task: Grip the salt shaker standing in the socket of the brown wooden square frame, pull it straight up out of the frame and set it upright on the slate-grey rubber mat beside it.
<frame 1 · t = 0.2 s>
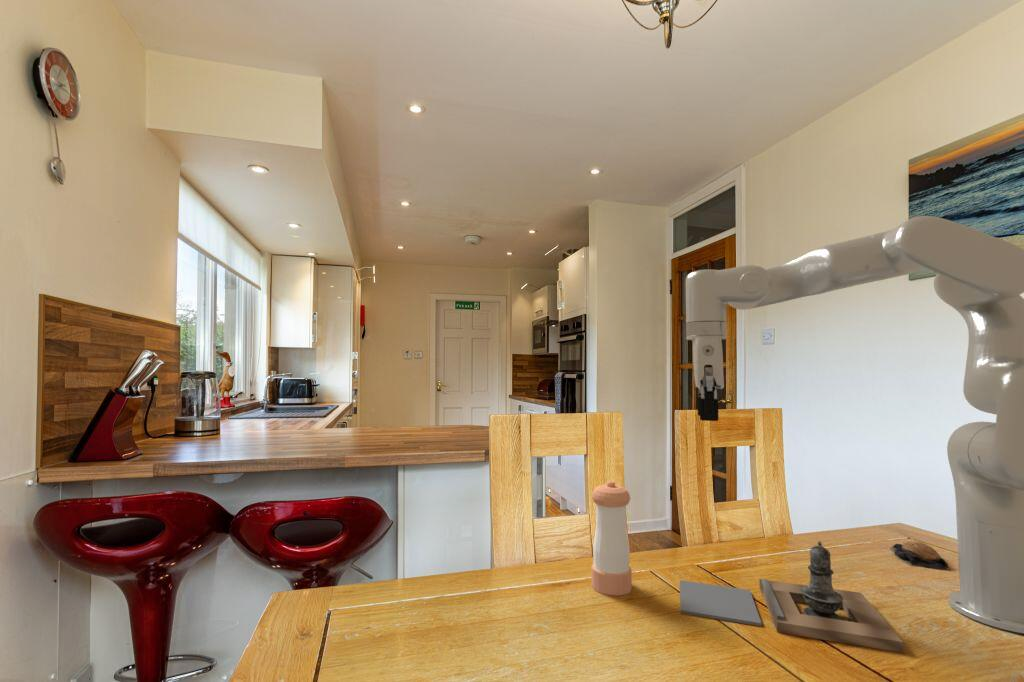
hand: (707, 418, 94), 31 cm above the table, tool pointing down, fingers open, 9 cm apart
slate mat: (716, 602, 82), on the table
brown wooden square frame: (822, 615, 78), on the table
pepper shaker: (611, 587, 88), on the table
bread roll: (919, 561, 102), on the table
salt shaker: (822, 617, 78), resting in brown wooden square frame
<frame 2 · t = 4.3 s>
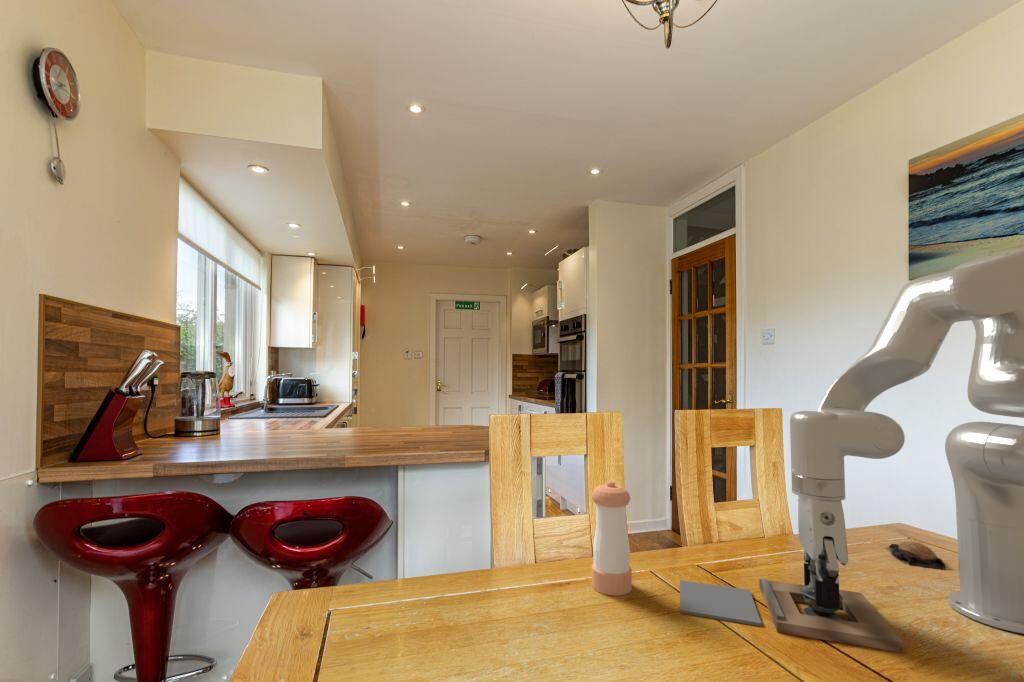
hand: (821, 596, 78), 3 cm above the table, tool pointing down, fingers closed on salt shaker, 5 cm apart
salt shaker: (821, 617, 78), resting in brown wooden square frame, touching gripper
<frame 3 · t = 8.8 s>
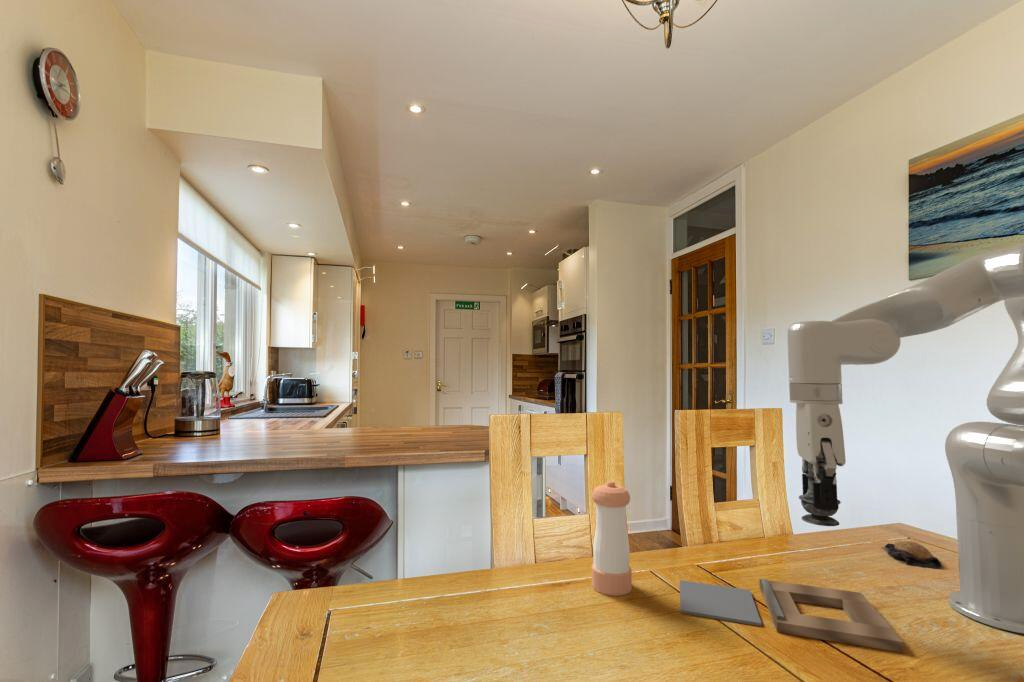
hand: (819, 502, 79), 18 cm above the table, tool pointing down, fingers closed on salt shaker, 5 cm apart
salt shaker: (820, 522, 79), point 15 cm above the table, touching gripper
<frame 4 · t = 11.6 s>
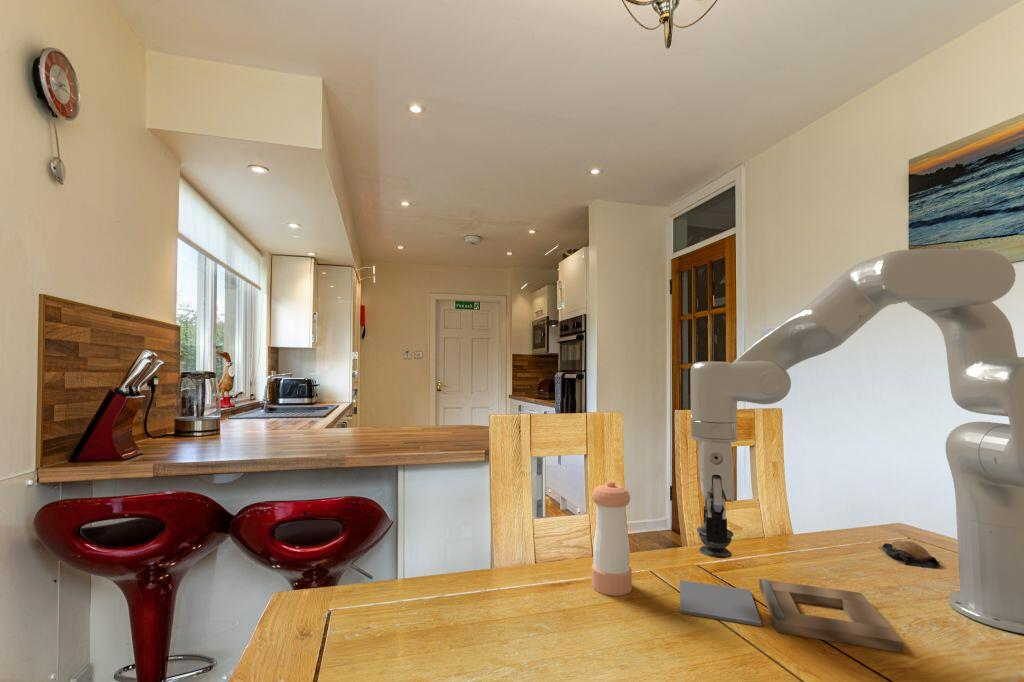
hand: (715, 534, 83), 12 cm above the table, tool pointing down, fingers closed on salt shaker, 5 cm apart
salt shaker: (715, 553, 82), point 8 cm above the table, touching gripper
when the fingers open (5 cm above the table, at t = 13.6 s): salt shaker drops 1 cm, resting on slate mat.
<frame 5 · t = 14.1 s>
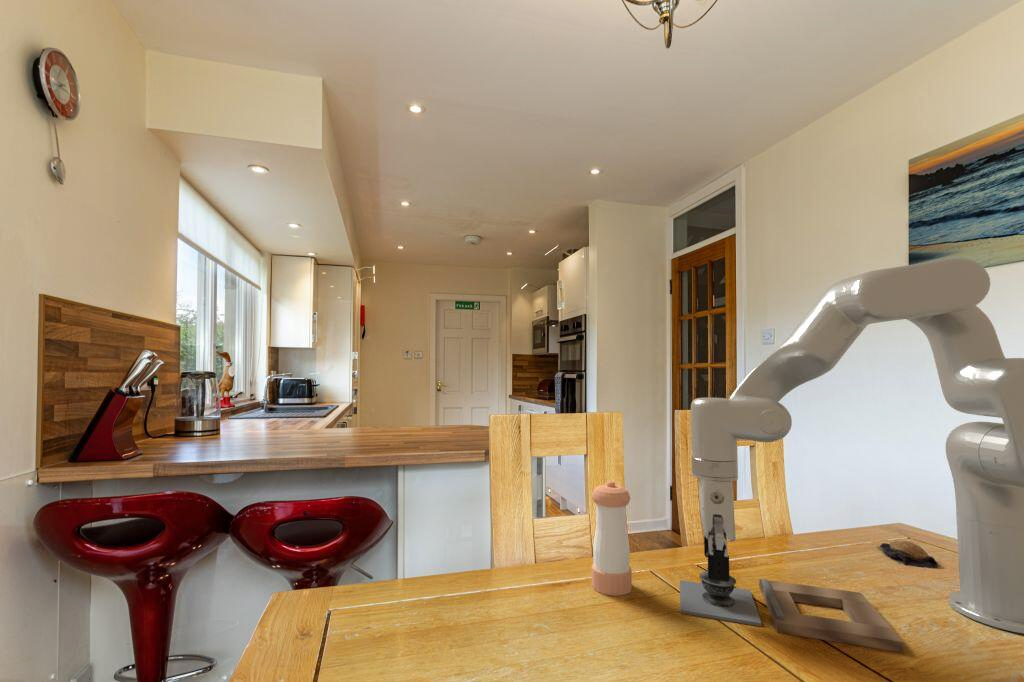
hand: (716, 568, 82), 6 cm above the table, tool pointing down, fingers open, 9 cm apart
salt shaker: (718, 600, 82), resting on slate mat
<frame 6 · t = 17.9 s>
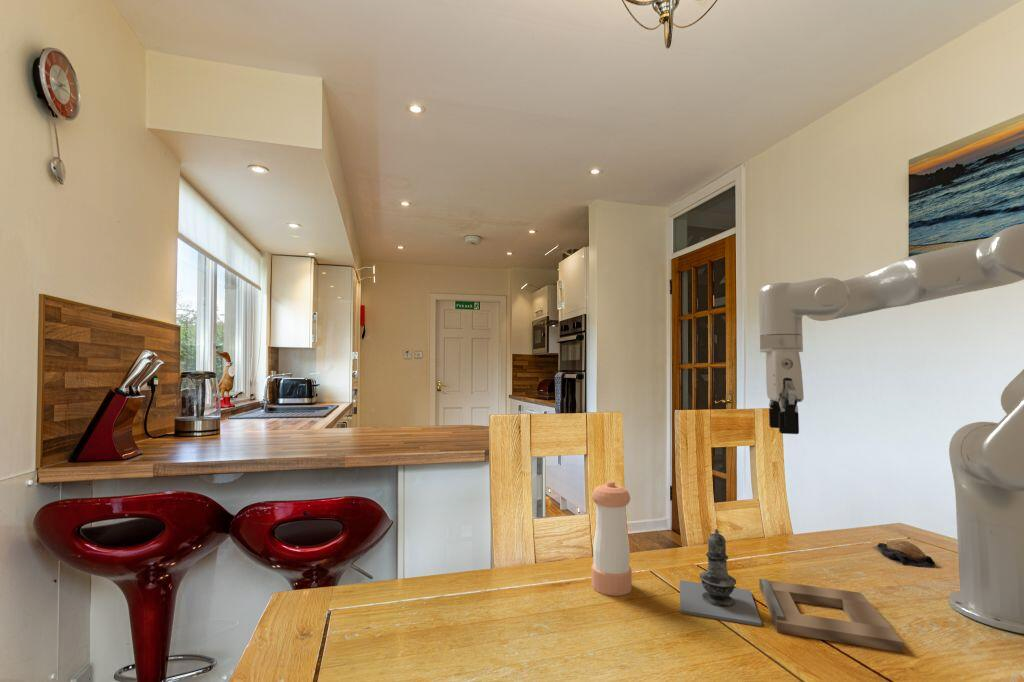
hand: (783, 430, 94), 28 cm above the table, tool pointing down, fingers open, 9 cm apart
at the end: salt shaker inside the target area on the slate mat (0.2 cm from its centre), point 0.3 cm above the slate mat's base; salt shaker tilted 0°; the gripper is holding nothing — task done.
